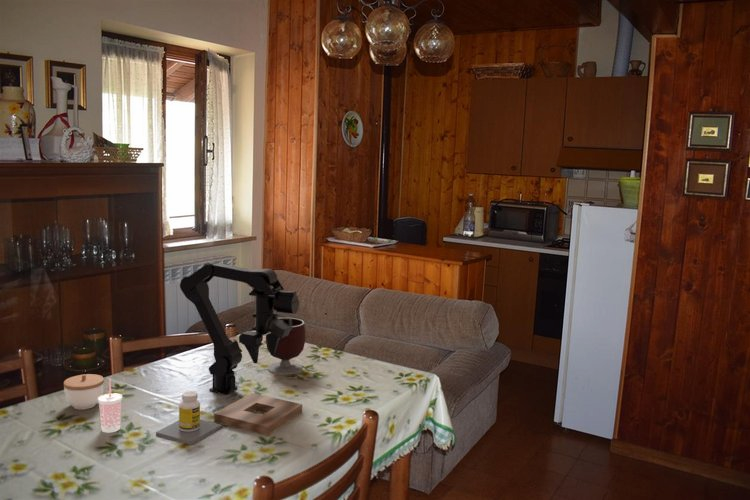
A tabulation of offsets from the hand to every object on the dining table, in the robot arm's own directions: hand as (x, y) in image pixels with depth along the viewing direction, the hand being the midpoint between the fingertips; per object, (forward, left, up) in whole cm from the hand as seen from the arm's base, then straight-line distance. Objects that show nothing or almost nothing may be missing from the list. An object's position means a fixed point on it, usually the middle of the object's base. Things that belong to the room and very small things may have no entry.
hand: (264, 359), depth 195 cm
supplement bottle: (-3, -31, -11) cm, 33 cm away
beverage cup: (-22, -40, -12) cm, 47 cm away
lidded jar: (-41, -32, -12) cm, 53 cm away
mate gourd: (-8, +24, -12) cm, 28 cm away
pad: (-3, -31, -12) cm, 33 cm away
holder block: (+8, -14, -12) cm, 20 cm away
